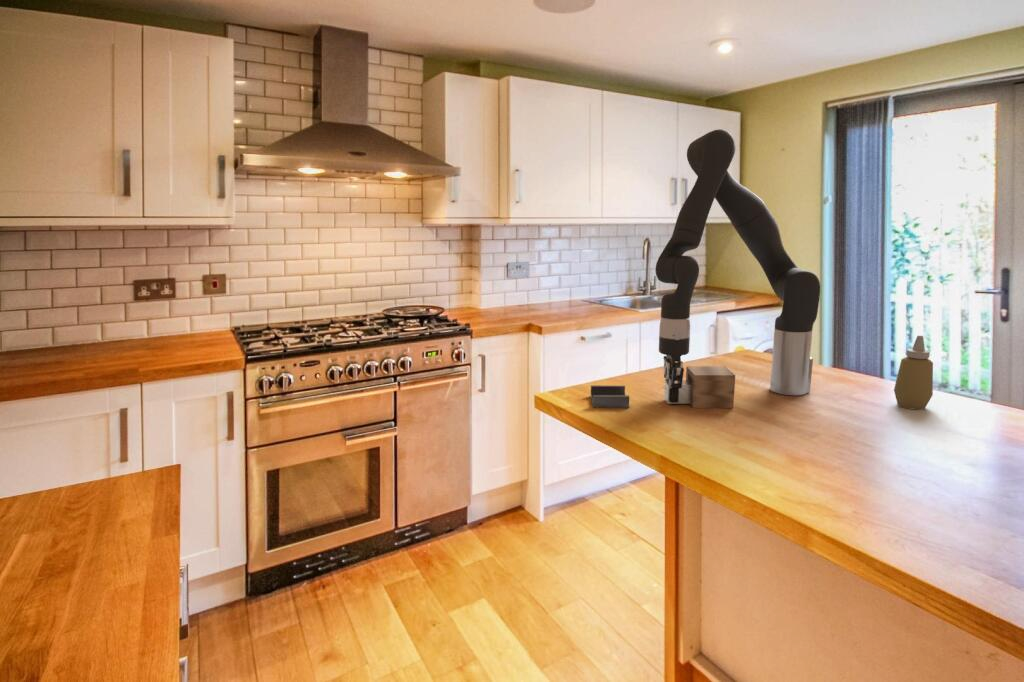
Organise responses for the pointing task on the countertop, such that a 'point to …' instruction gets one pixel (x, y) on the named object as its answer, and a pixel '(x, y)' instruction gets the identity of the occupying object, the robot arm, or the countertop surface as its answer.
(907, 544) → the countertop surface
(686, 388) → the shiny metal block
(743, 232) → the robot arm
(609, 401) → the grey channel block
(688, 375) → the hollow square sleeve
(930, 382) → the squeeze bottle
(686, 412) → the countertop surface
